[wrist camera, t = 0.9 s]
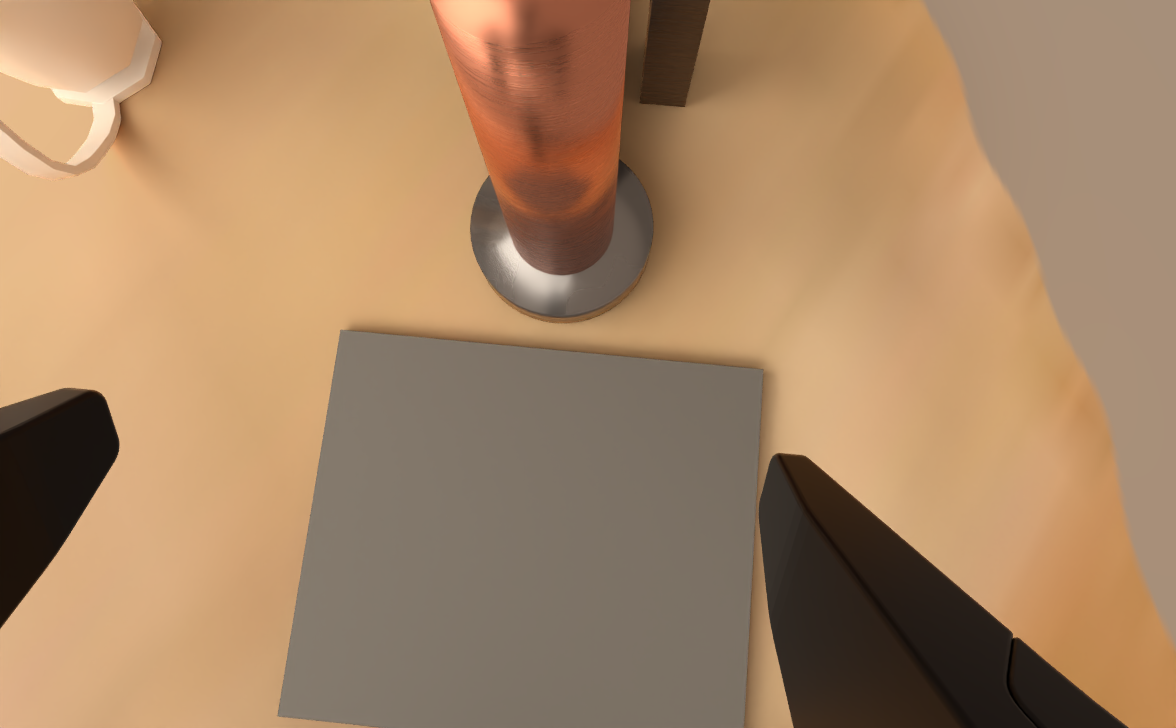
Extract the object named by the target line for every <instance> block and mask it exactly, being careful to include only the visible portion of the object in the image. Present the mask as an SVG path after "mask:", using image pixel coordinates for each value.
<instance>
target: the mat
mask: <svg viewBox="0 0 1176 728" xmlns="http://www.w3.org/2000/svg"><path fill="white" fill-rule="evenodd" d="M762 385H763V369H753V368H743V367H732V366H721V365H711V364H700V363H689V362H679V361H668V360H657V359H647V358H636V357H626V356H615V355H604V354H594V353H583V352H572V351H562V350H551V349H540V348H530V347H519V346H508V345H498V344H487V343H477V342H466V341H455V340H445V339H434V338H423V337H413V336H402V335H391V334H381V333H370V332H359V331H349V330H340V336H339V343H338V349H337V355H336V361H335V367H334V373H333V379H332V385H331V392H330V398H329V404H328V410H327V416H326V422H325V428H324V435H323V441H322V447H321V453H320V459H319V465H318V471H317V477H316V484H315V490H314V496H313V502H312V508H311V514H310V520H309V526H308V533H307V539H306V545H305V551H304V557H303V563H302V569H301V576H300V582H299V588H298V594H297V600H296V606H295V612H294V618H293V625H292V631H291V637H290V643H289V649H288V655H287V661H286V667H285V674H284V680H283V686H282V692H281V698H280V704H279V710H278V716H279V717H288V718H298V719H307V720H316V721H325V722H334V723H344V724H353V725H362V726H371V727H380V728H744V718H745V700H746V681H747V663H748V644H749V626H750V607H751V589H752V570H753V552H754V533H755V515H756V496H757V478H758V459H759V441H760V422H761V404H762Z"/></svg>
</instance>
